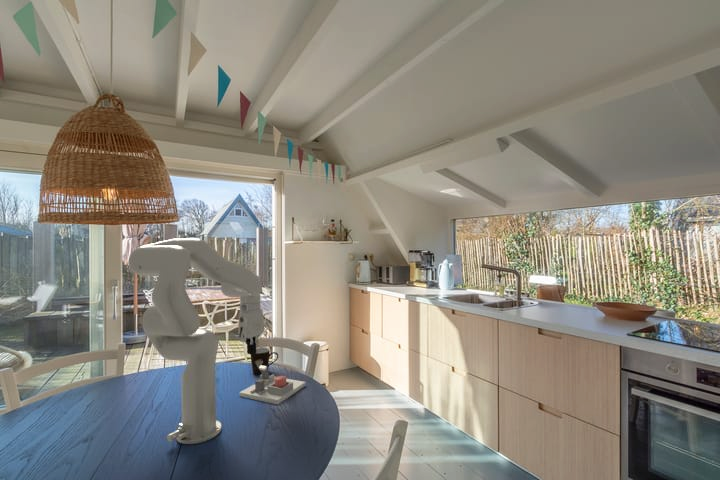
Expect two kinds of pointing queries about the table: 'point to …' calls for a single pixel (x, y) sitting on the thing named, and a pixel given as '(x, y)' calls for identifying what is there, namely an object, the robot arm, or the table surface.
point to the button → (280, 381)
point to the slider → (259, 385)
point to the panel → (273, 390)
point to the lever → (264, 371)
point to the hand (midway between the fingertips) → (251, 353)
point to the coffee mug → (261, 359)
